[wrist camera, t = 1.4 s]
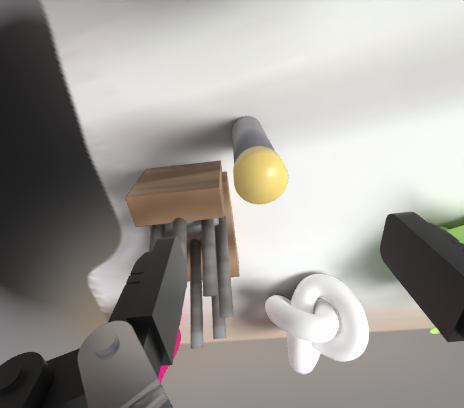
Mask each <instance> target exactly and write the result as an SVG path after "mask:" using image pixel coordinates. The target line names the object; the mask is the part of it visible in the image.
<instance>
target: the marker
mask: <svg viewBox="0 0 464 408" xmlns="http://www.w3.org/2000/svg"><path fill="white" fill-rule="evenodd" d="M232 140H233V153H234V169H233V172H234V185H235V189H236V191H237V193H238V194H239V196H240V197H241V198H243V199H244V200H245V201H247V202H250V203H253V204H266V203H270V202H272V201H274V200H276V199H277V198H278V197H280V196H281V195H282V193H283V192H284V191H285V189H286V187H287V184H288V171H287V169H286V167H285V165H284V163H283V161H282V160H281V158H280V156H279V155H278V154H277V153H276V152H275V150H274V148H273V147H272V145H271V143H270V141H269V139H268V137H267V136H266V134H265V132H264V130H263V128H262V126H261V125H260V123H259V122H258V120H256V119H255V118H253V117H250V116H245V117H241V118H240V119H238V120H237V121H236V122H235V123H234V125H233V128H232Z"/></svg>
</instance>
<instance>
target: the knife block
mask: <svg viewBox="0 0 464 408" xmlns="http://www.w3.org/2000/svg"><path fill="white" fill-rule="evenodd" d="M125 198H126V201H127V204H128V207H129V209H130V212H131V215H132V218H133V221H134V223H135V226H136V227H138V226H147V225H149V226H150V229H151V235H150V250H149V252H152V250H153V248H154V245H155V243H156V240H157V239H158V238H166V237H175V236H177V237H178V238H179V240H180V244H181V248H182V251H183V255H184V259H185V263H186V266H187V281H190V296H191V348H192V349H194V348H203V312H202V280H203V296H212V315H213V339H220V338H226V325H225V318H226V317H233V305H232V292H231V278H230V277H239V262H238V254H237V246H236V238H235V231H234V223H233V215H232V207H231V200H230V192H229V184H228V177H227V172H222V167H221V161H215V162H206V163H197V164H189V165H180V166H171V167H162V168H153V169H146V170H145V172H144V173H143V175H142V176H141V177H140V179H139V180H138V181H137V183H136V184H135V185H134V187H133V188H132V189H131V191H130V192H129V193H128V195H127V196H126V197H125ZM186 288H187V285H186ZM176 342H177V341H176Z"/></svg>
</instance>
